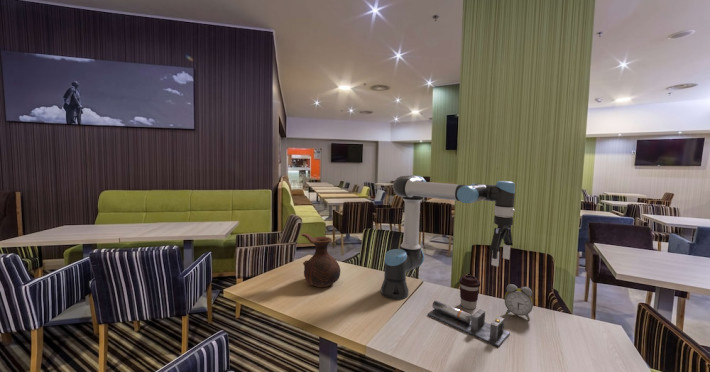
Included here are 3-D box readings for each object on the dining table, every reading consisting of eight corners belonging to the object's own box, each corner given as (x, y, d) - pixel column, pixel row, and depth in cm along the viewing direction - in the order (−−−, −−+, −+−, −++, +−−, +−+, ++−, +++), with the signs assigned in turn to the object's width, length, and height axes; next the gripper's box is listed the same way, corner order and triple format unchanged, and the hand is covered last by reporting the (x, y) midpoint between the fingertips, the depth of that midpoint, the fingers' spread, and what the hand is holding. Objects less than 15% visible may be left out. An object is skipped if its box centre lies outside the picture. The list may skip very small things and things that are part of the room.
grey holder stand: (427, 315, 137) (428, 299, 137) (441, 306, 146) (442, 291, 146) (498, 347, 114) (499, 329, 114) (509, 334, 123) (511, 317, 123)
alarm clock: (503, 315, 139) (505, 285, 138) (503, 309, 145) (505, 280, 144) (531, 322, 133) (534, 290, 132) (530, 315, 139) (533, 285, 138)
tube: (431, 309, 141) (432, 301, 140) (436, 306, 144) (436, 298, 143) (468, 325, 128) (469, 316, 127) (472, 322, 130) (473, 313, 130)
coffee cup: (480, 312, 141) (482, 282, 140) (459, 309, 143) (461, 280, 142) (476, 302, 151) (478, 274, 150) (456, 300, 153) (458, 272, 152)
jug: (320, 273, 186) (321, 227, 184) (347, 281, 174) (348, 232, 171) (295, 284, 169) (295, 233, 166) (322, 295, 156) (323, 240, 153)
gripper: (502, 220, 118) (498, 271, 120) (521, 213, 135) (518, 258, 137) (483, 217, 124) (480, 266, 125) (504, 211, 141) (502, 254, 143)
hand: (500, 262), depth 131 cm, fingers open, 13 cm apart
